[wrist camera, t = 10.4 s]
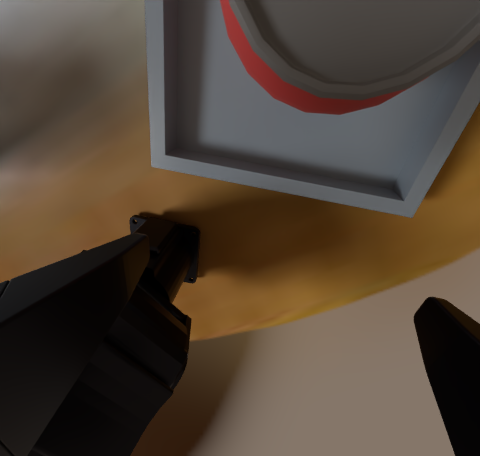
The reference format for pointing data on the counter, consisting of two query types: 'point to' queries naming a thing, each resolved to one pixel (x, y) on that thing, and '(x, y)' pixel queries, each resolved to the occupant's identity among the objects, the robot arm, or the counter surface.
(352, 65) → the beer can
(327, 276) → the counter surface
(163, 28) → the tray
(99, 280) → the robot arm
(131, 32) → the counter surface
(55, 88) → the counter surface
